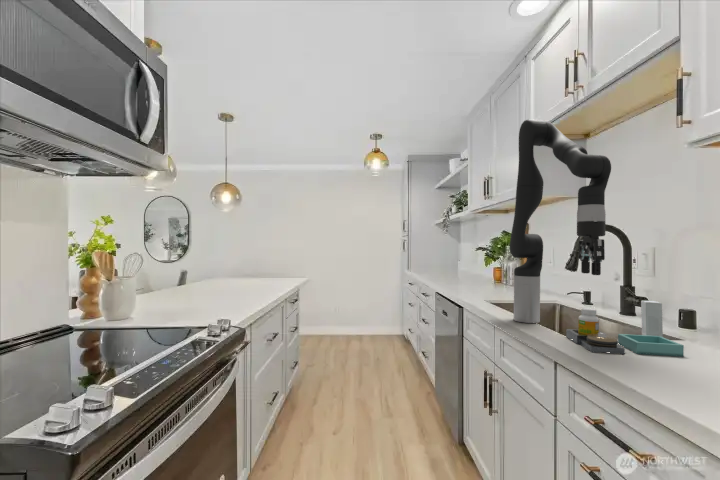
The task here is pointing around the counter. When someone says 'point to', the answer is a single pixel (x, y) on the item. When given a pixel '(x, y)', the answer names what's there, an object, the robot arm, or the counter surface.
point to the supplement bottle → (588, 322)
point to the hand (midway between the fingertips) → (590, 274)
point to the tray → (651, 345)
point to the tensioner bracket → (596, 341)
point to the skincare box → (651, 318)
